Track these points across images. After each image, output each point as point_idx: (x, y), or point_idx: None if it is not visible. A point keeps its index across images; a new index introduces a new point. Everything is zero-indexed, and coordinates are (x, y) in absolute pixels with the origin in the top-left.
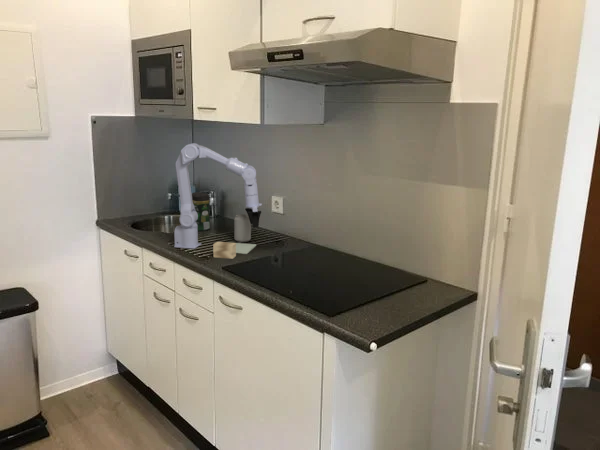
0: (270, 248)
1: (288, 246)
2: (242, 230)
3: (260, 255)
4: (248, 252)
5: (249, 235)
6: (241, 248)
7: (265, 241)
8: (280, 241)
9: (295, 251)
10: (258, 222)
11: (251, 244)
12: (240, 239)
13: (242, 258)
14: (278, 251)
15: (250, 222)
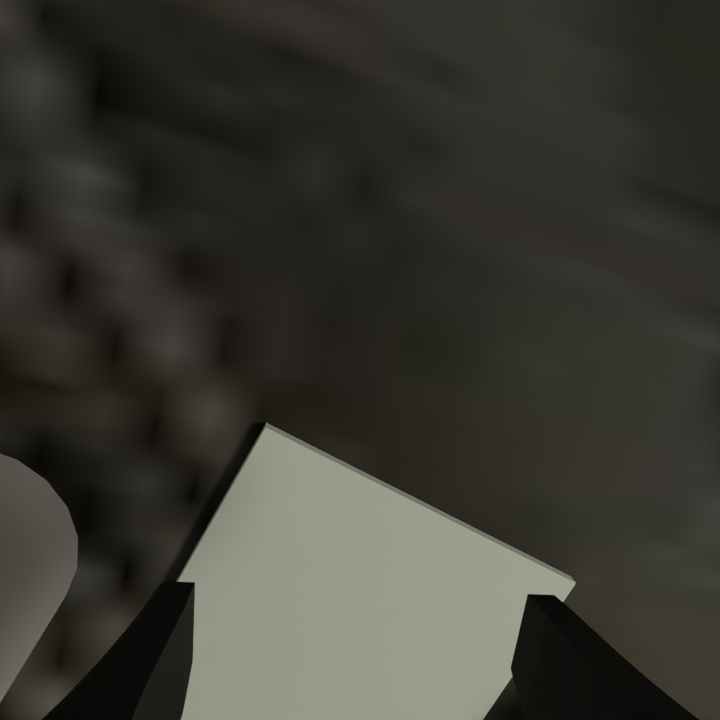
0: (438, 289)
1: (408, 22)
2: (18, 657)
3: (666, 461)
4: (528, 555)
5: (8, 498)
6: (404, 612)
7: (74, 258)
8: (109, 39)
9: (659, 20)
10: (618, 659)
11: (258, 482)
12: (63, 594)
13: (696, 634)
14: (590, 233)
15: (184, 699)
